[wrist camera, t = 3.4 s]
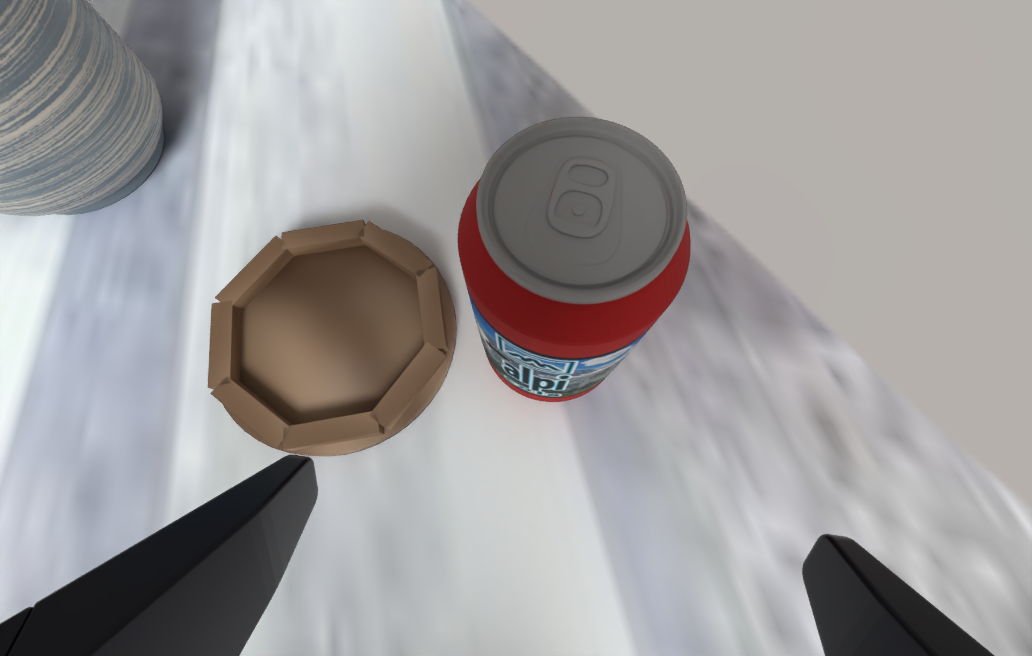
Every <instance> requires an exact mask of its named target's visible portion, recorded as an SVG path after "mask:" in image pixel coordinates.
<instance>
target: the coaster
mask: <svg viewBox="0 0 1032 656" xmlns="http://www.w3.org/2000/svg"><path fill="white" fill-rule="evenodd" d="M215 298H216V299H217V300H219V301H220V302H219V303H213V304H212V309H211V330H210V351H209V372H208V388H211V389H214V390H213V391H212V392H211V393H210V394H212V395H213V396H214V397H215V398H216V399H218V400H219V401H220V402H221V403H222V404H223V405H224V407H225V409H226V410H227V412H228V413H229V414H230V416H231V417H232V418H233V420H234V421H235V422H236V423H237V424H238V425H239V426H240V427H241V428H242V429H243V430H244V431H245V432H247V433H248V434H250V435H251V436H252V437H254V438H255V439H257V440H258V441H260V442H262V443H264V444H266V445H268V446H270V447H272V448H275V449H279V450H282V451H285V452H288V453H294V454H300V455H308V456H336V455H345V454H349V453H353V452H357V451H361V450H364V449H367V448H369V447H372V446H375V445H377V444H379V443H381V442H383V441H385V440H387V439H389V438H391V437H392V436H394V435H395V434H397V433H398V432H400V431H401V430H403V429H404V428H405V427H407V426H408V425H409V424H410V423H411V422H412V421H414V420H415V419H416V418H417V417H418V416H419V415H420V414H421V413H422V412H423V411H424V409H425V408H426V407H427V406H428V405H429V404H430V402H431V401H432V400H433V398H434V397H435V395H436V394H437V392H438V391H439V389H440V387H441V385H442V383H443V381H444V379H445V377H446V375H447V373H448V370H449V367H450V364H451V361H452V358H453V353H454V348H455V341H456V319H455V312H454V307H453V303H452V300H451V297H450V294H449V292H448V289H447V286H446V284H445V282H444V280H443V278H442V276H441V274H440V272H439V271H438V269H437V268H436V267H435V265H434V264H433V263H432V261H431V260H430V259H429V258H428V257H427V256H426V255H425V254H424V253H423V252H422V251H421V250H420V249H418V248H417V247H416V246H414V245H413V244H412V243H410V242H409V241H407V240H405V239H403V238H402V237H400V236H398V235H396V234H393V233H391V232H388V231H386V230H382V229H380V228H379V227H377V226H376V225H374V224H373V223H371V222H370V221H369V222H368V223H367V224H365V222H364V220H359V221H353V222H346V223H340V224H333V225H327V226H320V227H314V228H307V229H301V230H294V231H288V232H282V240H281V239H280V238H278V237H277V236H275V237H274V238H273V239H272V240H271V241H270V242H269V243H268V244H267V245H266V246H265V247H264V248H263V249H262V250H261V251H260V252H259V253H258V254H257V255H256V256H255V257H254V258H253V259H252V260H251V261H250V262H249V263H248V264H247V265H246V266H245V267H244V268H243V269H242V270H241V271H240V272H239V273H238V274H237V276H236V277H235V278H234V279H233V280H232V281H231V282H230V283H229V284H228V285H227V286H226V287H225V288H224V289H223V290H222V291H221V292H220V293H219V294H218V295H217V296H216V297H215Z"/></svg>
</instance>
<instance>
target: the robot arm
mask: <svg viewBox="0 0 1032 656" xmlns="http://www.w3.org/2000/svg"><path fill="white" fill-rule="evenodd" d="M317 495H318V486H317V480H316V473H315V467H314V462H313V460H312V459H311V458H309V457H305V456H298V455H288V456H285V457H283V458H281V459H280V460H278V461H276V462H275V463H273V464H271V465H270V466H268V467H266V468H264V469H263V470H261V471H259V472H258V473H256V474H254V475H253V476H251V477H249V478H247V479H246V480H244V481H242V482H241V483H239V484H237V485H235V486H234V487H232V488H230V489H229V490H227V491H225V492H224V493H222V494H220V495H218V496H217V497H215V498H213V499H212V500H210V501H208V502H207V503H205V504H203V505H201V506H200V507H198V508H196V509H195V510H193V511H191V512H190V513H188V514H186V515H184V516H183V517H181V518H179V519H178V520H176V521H174V522H173V523H171V524H169V525H167V526H166V527H164V528H162V529H161V530H159V531H157V532H155V533H154V534H152V535H150V536H149V537H147V538H145V539H144V540H142V541H140V542H138V543H137V544H135V545H133V546H132V547H130V548H128V549H127V550H125V551H123V552H121V553H120V554H118V555H116V556H115V557H113V558H111V559H110V560H108V561H106V562H104V563H103V564H101V565H99V566H98V567H96V568H94V569H93V570H91V571H89V572H87V573H86V574H84V575H82V576H81V577H79V578H77V579H75V580H74V581H72V582H70V583H69V584H67V585H65V586H64V587H62V588H60V589H58V590H57V591H55V592H53V593H52V594H50V595H48V596H47V597H45V598H43V599H41V600H40V601H38V602H37V603H36V604H35V605H34V607H28V608H26V609H24V610H22V611H21V612H19V613H17V614H16V615H14V616H12V617H10V618H9V619H7V620H5V621H4V622H2V623H0V656H239V655H240V653H241V652H242V650H243V648H244V646H245V645H246V643H247V641H248V639H249V637H250V636H251V634H252V632H253V630H254V629H255V627H256V625H257V623H258V622H259V620H260V618H261V616H262V614H263V613H264V611H265V609H266V607H267V606H268V604H269V602H270V600H271V598H272V596H273V595H274V593H275V591H276V589H277V587H278V585H279V583H280V581H281V579H282V577H283V575H284V572H285V570H286V568H287V566H288V563H289V561H290V559H291V557H292V554H293V552H294V550H295V548H296V545H297V543H298V541H299V539H300V536H301V534H302V532H303V530H304V527H305V525H306V523H307V521H308V518H309V516H310V514H311V512H312V510H313V507H314V505H315V503H316V499H317ZM802 575H803V580H804V584H805V587H806V591H807V594H808V598H809V601H810V605H811V608H812V612H813V615H814V619H815V622H816V626H817V629H818V633H819V636H820V640H821V643H822V647H823V650H824V653H825V656H994V655H993V654H992V653H991V652H990V651H988V650H987V649H986V648H985V647H983V646H982V645H981V644H980V643H979V642H977V641H976V640H975V639H974V638H972V637H971V636H970V635H969V634H968V633H966V632H965V631H964V630H963V629H961V628H960V627H959V626H958V625H957V624H955V623H954V622H953V621H952V620H950V619H949V618H948V617H947V616H946V615H944V614H943V613H942V612H941V611H939V610H938V609H937V608H936V607H935V606H933V605H932V604H931V603H930V602H928V601H927V600H926V599H925V598H924V597H922V596H921V595H920V594H919V593H917V592H916V591H915V590H914V589H913V588H911V587H910V586H909V585H908V584H907V583H905V582H904V581H903V580H902V579H900V578H899V577H898V576H897V575H896V574H894V573H893V572H892V571H891V570H889V569H888V568H887V567H886V566H885V565H883V564H882V563H881V562H880V561H878V560H877V559H876V558H875V557H874V556H872V555H871V554H870V553H869V552H867V551H866V550H865V549H864V548H863V547H861V546H860V545H859V544H858V543H856V542H855V541H854V540H852V539H850V538H848V537H844V536H837V535H831V534H823V535H822V536H820V537H819V538H818V539H817V541H816V543H815V545H814V546H813V548H812V550H811V551H810V553H809V555H808V556H807V558H806V560H805V561H804V563H803V568H802Z"/></svg>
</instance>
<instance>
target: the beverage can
mask: <svg viewBox="0 0 1032 656" xmlns="http://www.w3.org/2000/svg"><path fill="white" fill-rule="evenodd" d="M690 243H691V242H690V231H689V226H688V221H687V203H686V196H685V191H684V188H683V185H682V182H681V180H680V177H679V175H678V174H677V171H676V170H675V168H674V166H673V165H672V163H671V162H670V161H669V159H668V158H667V157H666V156H665V155H664V153H663V152H661V150H660V149H659V148H658V147H657V146H656V145H654V144H653V143H652V142H650V141H649V140H648V139H647V138H645V137H644V136H642V135H640V134H639V133H637V132H635V131H633V130H631V129H629V128H627V127H625V126H622V125H619V124H617V123H614V122H610V121H607V120H602V119H597V118H588V117H567V118H558V119H553V120H548V121H544V122H542V123H539V124H536V125H533V126H531V127H529V128H527V129H525V130H523V131H521V132H519V133H518V134H516V135H514V136H513V137H512V138H510V139H509V140H508V141H507V142H505V143H504V144H503V145H502V146H501V147H500V148H499V149H498V150H497V151H496V152H495V154H494V155H493V156H492V158H491V159H490V161H489V162H488V163H487V165H486V167H485V169H484V171H483V174H482V176H481V178H480V180H479V181H478V182H477V183H476V185H475V186H474V188H473V189H472V191H471V193H470V195H469V196H468V199H467V201H466V203H465V206H464V208H463V211H462V214H461V218H460V222H459V229H458V251H459V257H460V262H461V266H462V270H463V274H464V278H465V282H466V286H467V290H468V294H469V297H470V301H471V304H472V308H473V312H474V315H475V319H476V322H477V326H478V329H479V333H480V336H481V339H482V343H483V346H484V349H485V352H486V355H487V357H488V360H489V362H490V364H491V366H492V368H493V370H494V371H495V373H496V374H497V375H498V377H499V378H500V379H501V380H502V381H503V382H504V383H505V384H506V385H507V386H509V387H510V388H511V389H513V390H514V391H516V392H518V393H519V394H521V395H523V396H526V397H528V398H531V399H535V400H539V401H545V402H560V401H567V400H571V399H575V398H577V397H580V396H582V395H584V394H586V393H588V392H590V391H591V390H593V389H594V388H595V387H597V386H598V385H599V384H600V383H601V382H602V381H603V380H604V379H605V378H606V377H607V376H608V375H609V374H610V373H611V372H612V371H613V370H614V368H615V367H616V366H617V365H618V364H619V363H620V362H621V361H622V360H623V359H624V357H625V356H626V355H627V354H628V353H629V352H630V351H631V350H632V349H633V347H634V346H635V345H636V344H637V343H638V342H639V341H640V339H641V338H642V337H643V336H644V335H645V334H646V333H647V331H648V330H649V329H650V328H651V327H652V326H653V324H654V323H655V322H656V321H657V320H658V318H659V317H660V316H661V315H662V314H663V312H664V311H665V310H666V309H667V308H668V306H669V305H670V304H671V303H672V301H673V300H674V298H675V297H676V295H677V294H678V292H679V290H680V288H681V286H682V284H683V282H684V279H685V276H686V273H687V270H688V265H689V260H690Z"/></svg>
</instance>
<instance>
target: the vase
mask: <svg viewBox="0 0 1032 656" xmlns="http://www.w3.org/2000/svg"><path fill="white" fill-rule="evenodd" d="M162 122H163V115H162V102H161V98H160V95H159V91H158V88H157V85H156V83H155V81H154V79H153V77H152V75H151V74H150V72H149V71H148V69H147V68H146V66H145V65H144V63H143V62H142V61H141V60H140V59H139V58H138V56H137V55H136V54H135V53H134V52H133V51H132V50H131V49H130V48H129V47H128V45H127V44H126V43H125V42H124V41H123V40H122V39H121V38H120V37H119V36H118V35H117V33H116V32H115V31H114V30H113V29H112V28H111V27H110V26H109V25H108V24H107V22H106V21H105V20H104V19H103V18H102V17H101V16H100V15H99V14H98V13H97V12H96V10H95V9H94V8H93V7H92V6H91V5H90V4H89V3H88V2H87V1H86V0H0V213H2V214H8V215H25V216H41V215H50V214H62V215H73V214H82V213H87V212H91V211H95V210H99V209H101V208H104V207H106V206H109V205H111V204H113V203H115V202H117V201H119V200H121V199H123V198H124V197H126V196H127V195H128V194H130V193H131V192H133V191H134V190H135V189H136V188H138V187H139V186H140V185H141V184H142V183H143V182H144V181H145V180H146V179H147V177H148V176H149V175H150V174H151V173H152V171H153V170H154V168H155V166H156V165H157V163H158V161H159V159H160V156H161V153H162V151H163V145H164V129H163V126H162Z"/></svg>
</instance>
